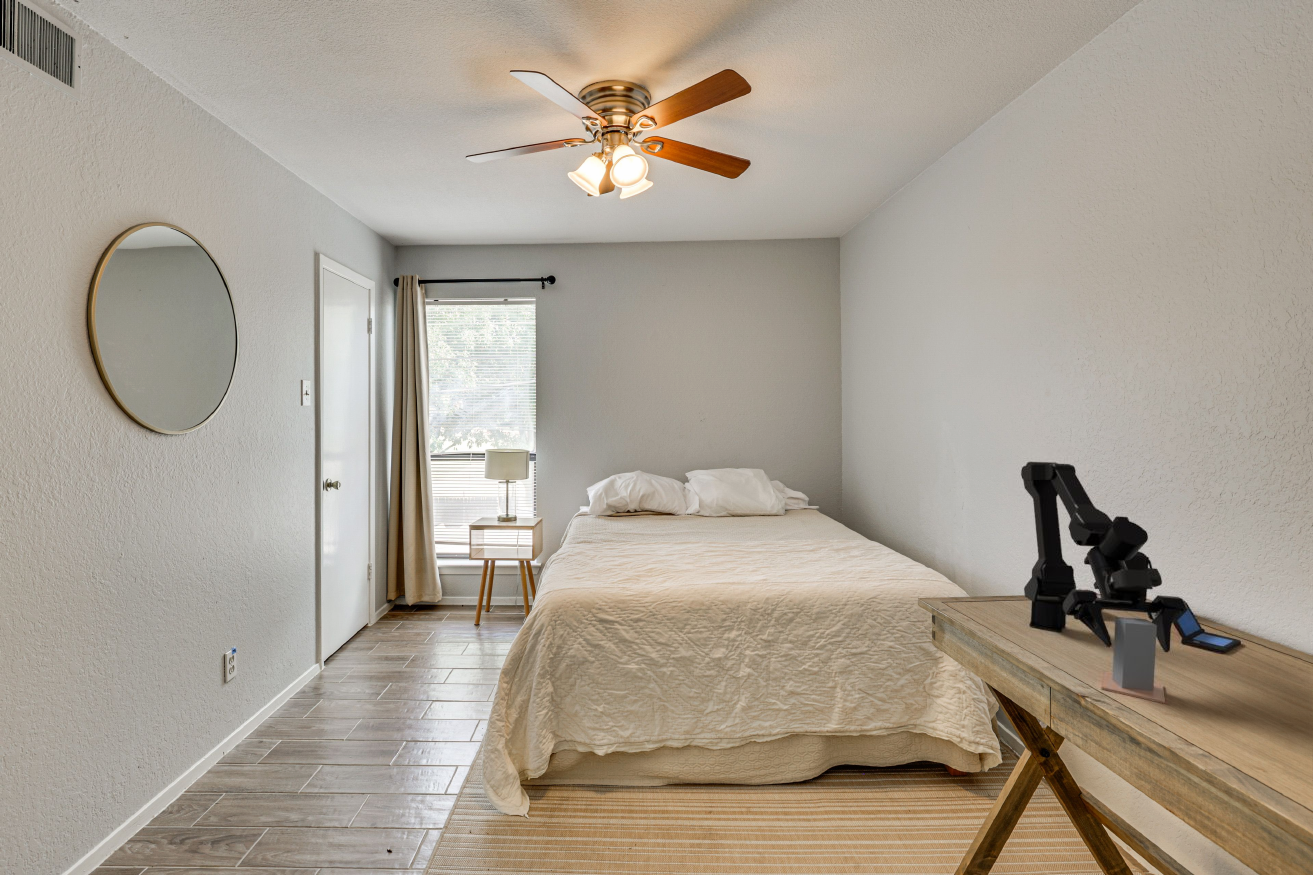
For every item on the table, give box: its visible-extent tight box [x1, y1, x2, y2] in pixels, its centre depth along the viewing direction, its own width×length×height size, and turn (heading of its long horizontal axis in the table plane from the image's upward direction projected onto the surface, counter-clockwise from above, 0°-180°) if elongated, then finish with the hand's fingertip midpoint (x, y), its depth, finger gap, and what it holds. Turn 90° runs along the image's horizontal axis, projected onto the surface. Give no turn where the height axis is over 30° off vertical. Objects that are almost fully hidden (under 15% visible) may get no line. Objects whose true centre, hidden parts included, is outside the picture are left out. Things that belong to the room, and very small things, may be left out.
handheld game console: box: [1172, 601, 1242, 655], centre depth 140 cm, size 12×11×7 cm
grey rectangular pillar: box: [1112, 616, 1157, 691], centre depth 115 cm, size 4×5×12 cm
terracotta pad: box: [1101, 671, 1166, 704], centre depth 115 cm, size 9×9×1 cm
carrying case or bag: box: [1124, 551, 1153, 602], centre depth 167 cm, size 11×3×15 cm, turn 64°
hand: (1138, 648), depth 113 cm, fingers open, 9 cm apart
